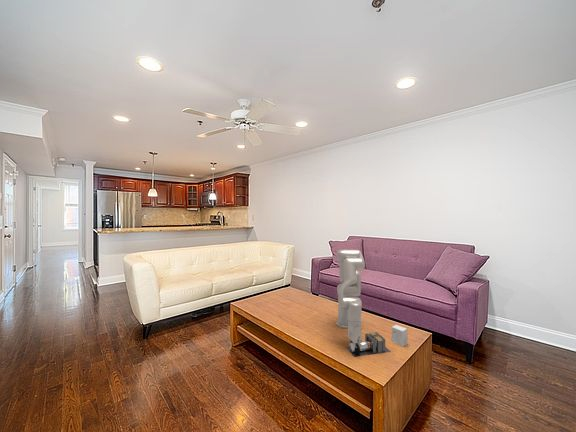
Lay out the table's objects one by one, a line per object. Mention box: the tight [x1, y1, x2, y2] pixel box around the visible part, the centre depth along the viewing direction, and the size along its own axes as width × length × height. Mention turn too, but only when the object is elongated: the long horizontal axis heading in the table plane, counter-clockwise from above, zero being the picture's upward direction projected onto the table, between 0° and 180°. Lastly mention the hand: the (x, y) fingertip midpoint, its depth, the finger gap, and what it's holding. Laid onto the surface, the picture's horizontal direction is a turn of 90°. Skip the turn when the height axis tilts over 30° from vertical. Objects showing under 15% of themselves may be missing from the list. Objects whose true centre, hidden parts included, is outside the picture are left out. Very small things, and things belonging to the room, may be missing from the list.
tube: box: [348, 340, 377, 352], centre depth 161 cm, size 18×5×5 cm, turn 103°
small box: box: [391, 324, 408, 347], centre depth 169 cm, size 8×6×10 cm
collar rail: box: [345, 331, 392, 358], centre depth 161 cm, size 11×25×9 cm, turn 103°
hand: (354, 350), depth 159 cm, fingers closed on tube, 5 cm apart
